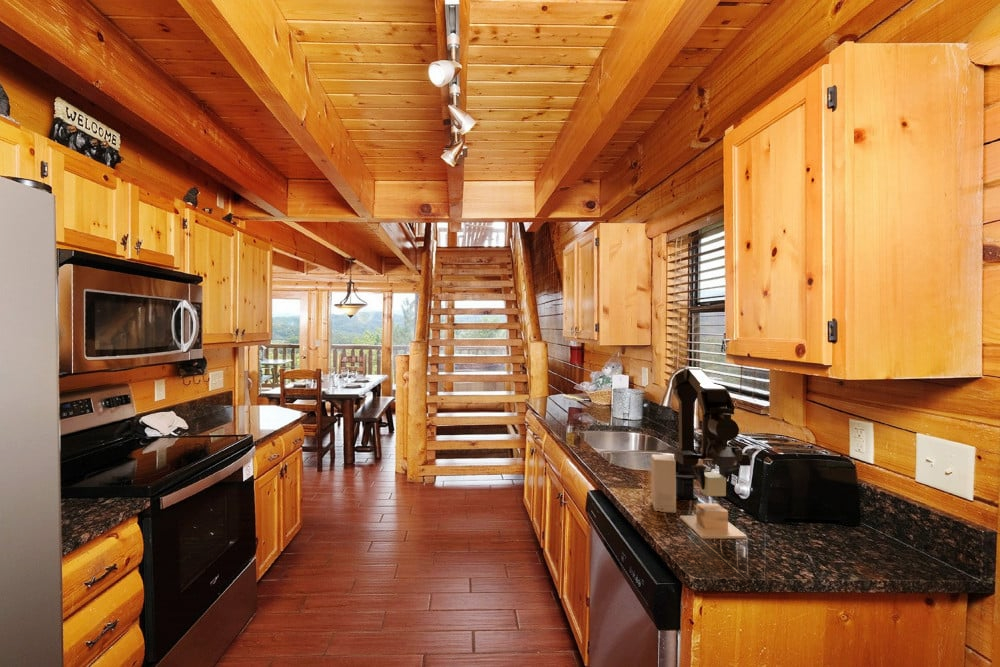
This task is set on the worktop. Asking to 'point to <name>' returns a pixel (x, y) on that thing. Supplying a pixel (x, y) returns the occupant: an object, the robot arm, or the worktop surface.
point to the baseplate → (704, 533)
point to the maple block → (712, 516)
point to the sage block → (714, 484)
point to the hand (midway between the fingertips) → (712, 489)
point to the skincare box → (663, 483)
